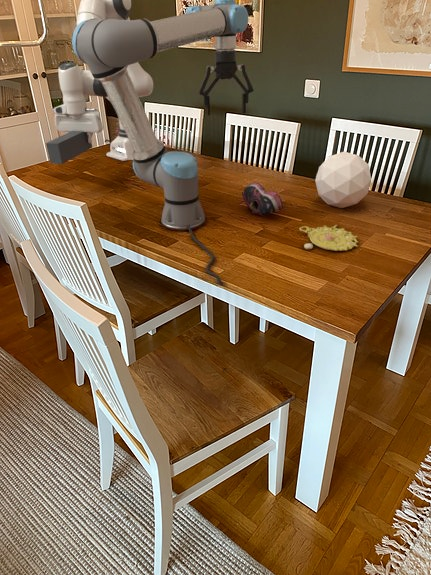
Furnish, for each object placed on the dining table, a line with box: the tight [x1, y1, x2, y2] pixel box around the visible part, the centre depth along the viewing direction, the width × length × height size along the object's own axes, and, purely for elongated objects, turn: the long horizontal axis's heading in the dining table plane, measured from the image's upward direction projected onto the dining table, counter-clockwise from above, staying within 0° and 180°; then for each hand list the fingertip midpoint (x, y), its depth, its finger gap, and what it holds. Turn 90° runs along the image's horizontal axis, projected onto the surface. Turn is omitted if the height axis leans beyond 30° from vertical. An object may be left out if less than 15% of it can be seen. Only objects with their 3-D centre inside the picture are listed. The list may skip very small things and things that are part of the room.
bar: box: [45, 131, 93, 165], centre depth 179 cm, size 24×5×8 cm, turn 165°
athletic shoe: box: [238, 182, 284, 217], centre depth 160 cm, size 11×22×12 cm
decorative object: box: [299, 224, 359, 252], centre depth 141 cm, size 21×2×20 cm
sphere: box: [314, 151, 372, 209], centre depth 160 cm, size 19×20×20 cm
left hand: (82, 142), depth 187 cm, fingers closed on bar, 5 cm apart
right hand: (226, 113), depth 167 cm, fingers open, 13 cm apart
